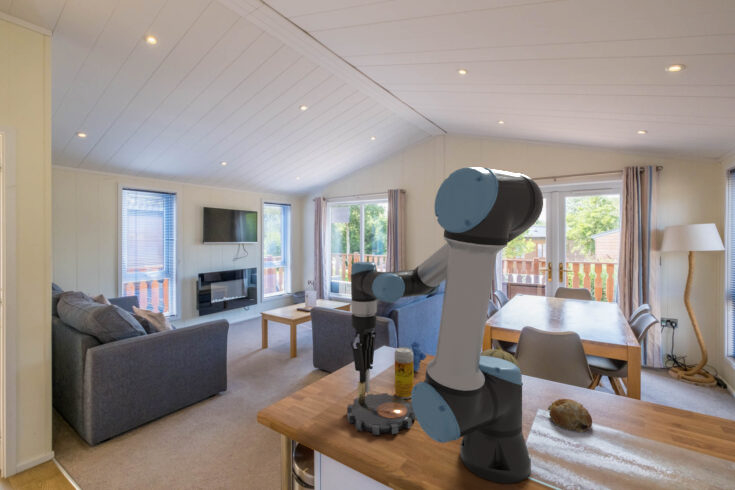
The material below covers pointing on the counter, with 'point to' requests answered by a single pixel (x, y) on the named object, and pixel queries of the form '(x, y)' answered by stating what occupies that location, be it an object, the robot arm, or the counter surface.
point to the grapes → (417, 355)
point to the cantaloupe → (500, 355)
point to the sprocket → (380, 412)
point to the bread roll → (570, 415)
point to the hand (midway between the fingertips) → (364, 390)
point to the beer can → (404, 372)
